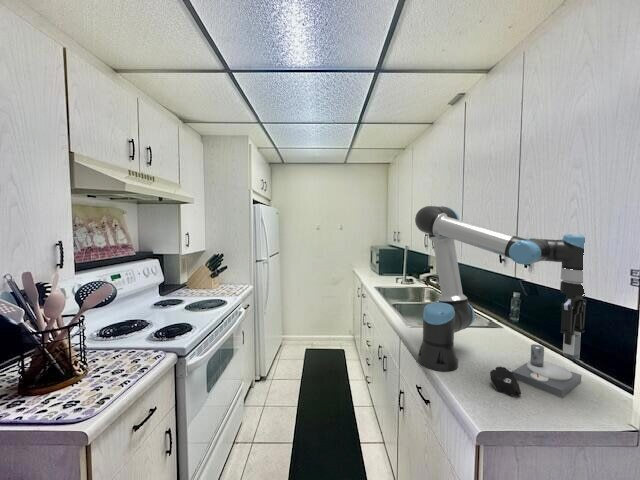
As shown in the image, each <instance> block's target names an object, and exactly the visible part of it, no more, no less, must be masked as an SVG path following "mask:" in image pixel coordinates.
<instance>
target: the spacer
mask: <svg viewBox="0 0 640 480" xmlns="http://www.w3.org/2000/svg"><path fill="white" fill-rule="evenodd" d="M544 359H545V347H544V346H543V345H540V344H534V343H533V344H531V345H530V360H529V361H530V364H531V365H533V366H535V367H543V365H544Z"/></svg>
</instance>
